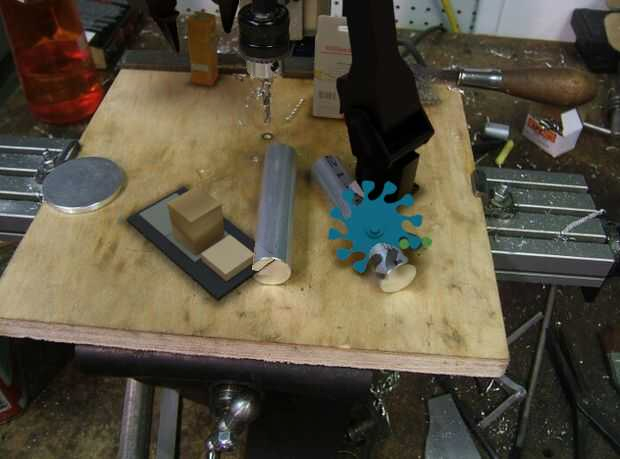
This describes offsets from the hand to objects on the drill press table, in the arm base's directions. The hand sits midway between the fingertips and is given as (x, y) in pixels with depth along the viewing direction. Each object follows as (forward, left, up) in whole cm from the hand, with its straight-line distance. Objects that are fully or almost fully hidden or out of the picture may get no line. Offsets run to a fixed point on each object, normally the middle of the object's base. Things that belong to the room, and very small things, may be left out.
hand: (202, 42), depth 81 cm
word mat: (-26, +22, -6) cm, 35 cm away
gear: (-41, +9, -6) cm, 43 cm away
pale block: (-26, +22, -6) cm, 35 cm away
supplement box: (0, 0, -6) cm, 6 cm away
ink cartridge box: (-20, -9, -6) cm, 23 cm away
